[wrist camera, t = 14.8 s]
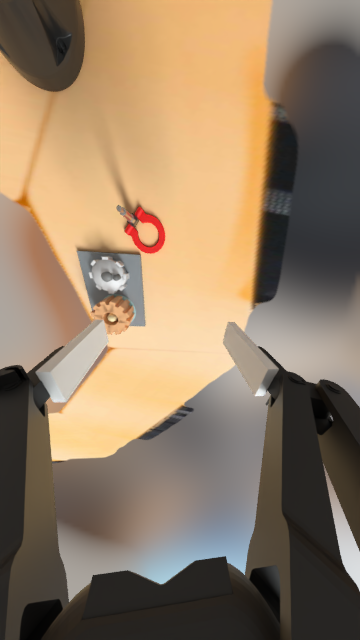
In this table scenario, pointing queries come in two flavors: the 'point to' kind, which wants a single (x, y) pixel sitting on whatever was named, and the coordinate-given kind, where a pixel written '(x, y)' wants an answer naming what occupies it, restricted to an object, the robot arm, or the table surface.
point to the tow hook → (144, 218)
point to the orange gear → (117, 308)
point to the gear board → (107, 276)
